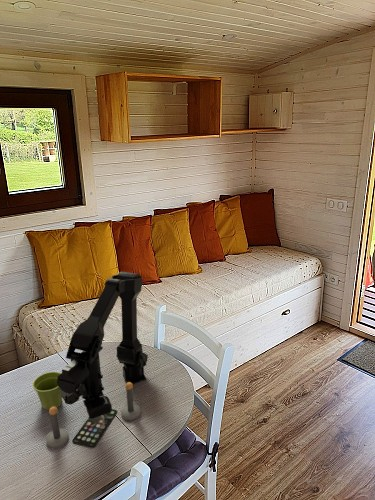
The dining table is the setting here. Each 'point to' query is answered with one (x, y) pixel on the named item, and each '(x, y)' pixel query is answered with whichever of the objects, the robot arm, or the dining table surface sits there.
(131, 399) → the stand inner
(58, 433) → the stand
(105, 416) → the smartphone
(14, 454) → the dining table surface
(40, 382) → the plant pot
